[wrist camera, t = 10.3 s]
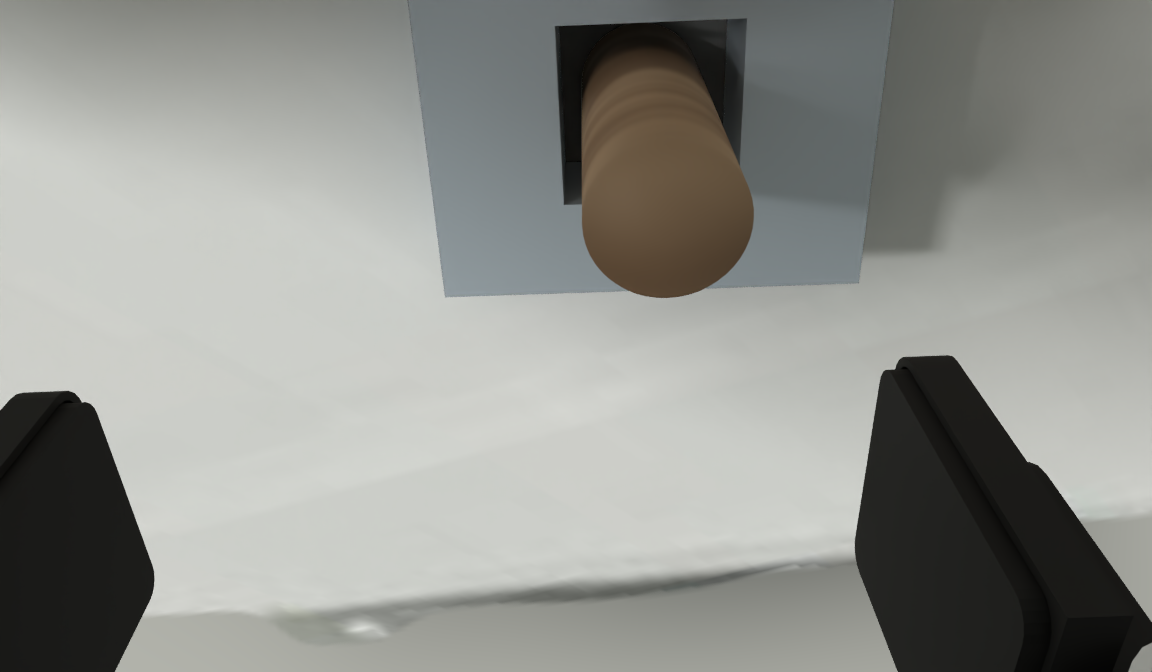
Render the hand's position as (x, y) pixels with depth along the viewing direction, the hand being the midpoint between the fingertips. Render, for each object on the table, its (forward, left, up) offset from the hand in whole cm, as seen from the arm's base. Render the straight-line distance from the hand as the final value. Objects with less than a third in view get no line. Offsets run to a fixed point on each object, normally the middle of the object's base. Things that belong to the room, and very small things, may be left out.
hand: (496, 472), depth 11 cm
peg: (+3, -2, -23) cm, 23 cm away
